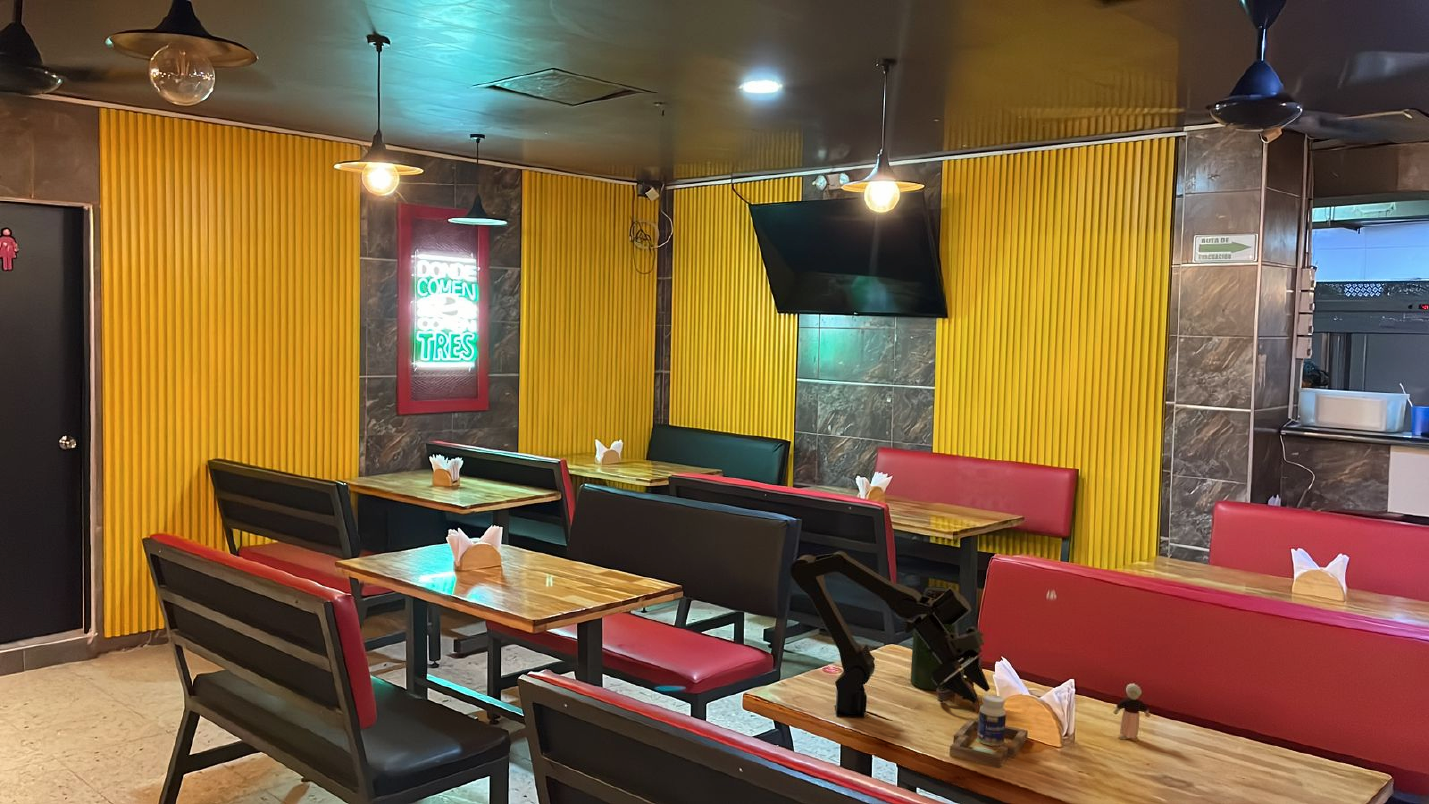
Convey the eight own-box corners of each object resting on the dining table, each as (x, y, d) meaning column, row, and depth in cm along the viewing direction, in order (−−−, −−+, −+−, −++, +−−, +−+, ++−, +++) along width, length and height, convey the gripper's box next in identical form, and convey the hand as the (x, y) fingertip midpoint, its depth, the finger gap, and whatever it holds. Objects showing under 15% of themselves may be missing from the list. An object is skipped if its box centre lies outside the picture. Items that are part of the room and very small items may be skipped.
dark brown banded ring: (977, 719, 250) (961, 689, 250) (942, 727, 255) (926, 697, 255) (991, 693, 260) (975, 663, 260) (957, 701, 265) (942, 672, 265)
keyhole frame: (969, 726, 244) (970, 717, 243) (1027, 739, 237) (1027, 730, 237) (943, 754, 226) (944, 745, 226) (1005, 769, 220) (1005, 759, 220)
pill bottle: (985, 747, 231) (988, 702, 231) (972, 737, 237) (975, 694, 236) (1009, 746, 233) (1011, 701, 232) (995, 736, 238) (998, 692, 238)
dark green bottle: (957, 684, 274) (963, 588, 272) (943, 694, 265) (949, 595, 263) (919, 675, 279) (924, 581, 277) (904, 685, 270) (909, 588, 269)
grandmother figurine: (1116, 740, 239) (1120, 685, 238) (1110, 734, 243) (1114, 680, 242) (1150, 742, 239) (1154, 687, 238) (1144, 736, 242) (1148, 681, 242)
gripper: (948, 626, 229) (995, 686, 224) (975, 609, 245) (1020, 665, 240) (911, 655, 234) (957, 715, 229) (941, 636, 250) (984, 692, 245)
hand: (981, 695), depth 236 cm, fingers open, 9 cm apart
